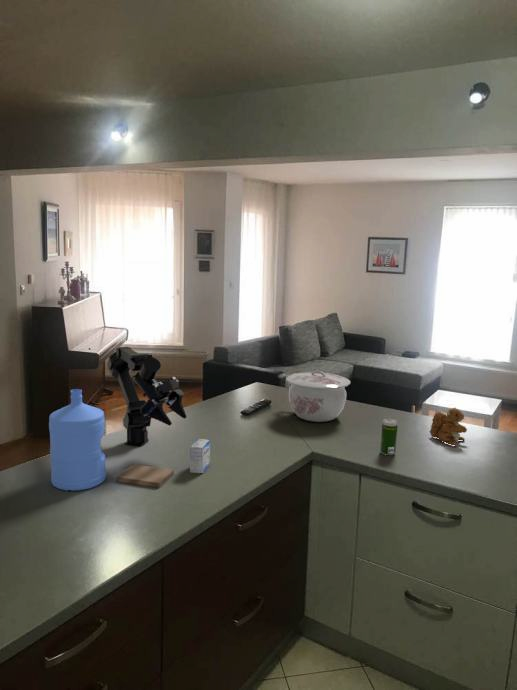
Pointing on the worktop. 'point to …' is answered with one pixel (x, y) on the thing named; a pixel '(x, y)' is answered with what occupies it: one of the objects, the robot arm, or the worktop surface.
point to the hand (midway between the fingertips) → (178, 421)
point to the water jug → (77, 445)
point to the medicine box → (200, 456)
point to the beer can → (388, 437)
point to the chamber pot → (317, 395)
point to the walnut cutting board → (145, 475)
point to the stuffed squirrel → (448, 426)
